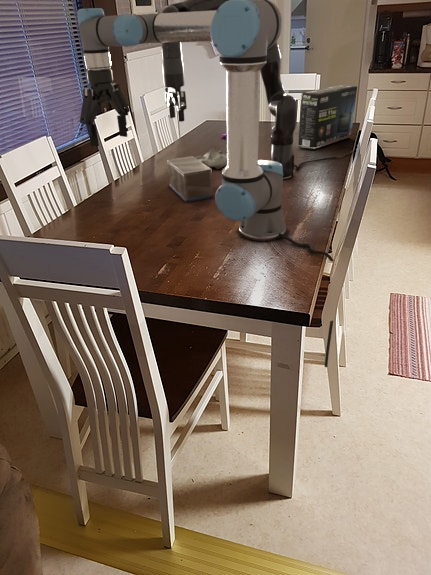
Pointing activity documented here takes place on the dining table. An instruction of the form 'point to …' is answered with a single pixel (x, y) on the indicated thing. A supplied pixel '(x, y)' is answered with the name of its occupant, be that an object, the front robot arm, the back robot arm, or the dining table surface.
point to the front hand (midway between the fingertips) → (109, 141)
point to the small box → (190, 178)
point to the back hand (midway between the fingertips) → (176, 119)
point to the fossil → (214, 158)
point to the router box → (326, 115)
